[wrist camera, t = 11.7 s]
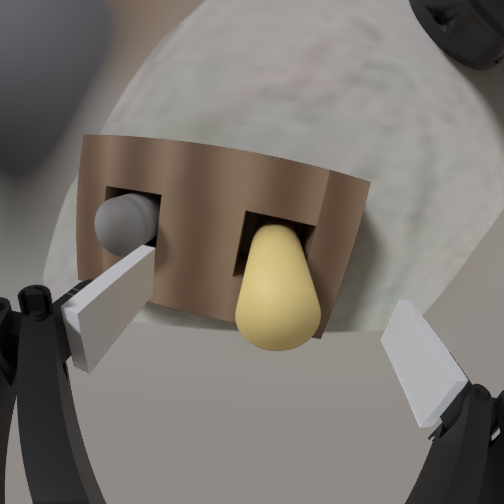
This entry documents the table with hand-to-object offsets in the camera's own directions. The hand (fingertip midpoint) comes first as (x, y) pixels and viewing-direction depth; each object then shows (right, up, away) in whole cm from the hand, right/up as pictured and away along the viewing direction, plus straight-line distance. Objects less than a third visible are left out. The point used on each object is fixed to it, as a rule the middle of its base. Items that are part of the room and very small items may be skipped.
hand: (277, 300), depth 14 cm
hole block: (-5, +6, +14) cm, 16 cm away
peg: (+1, +4, +13) cm, 14 cm away
